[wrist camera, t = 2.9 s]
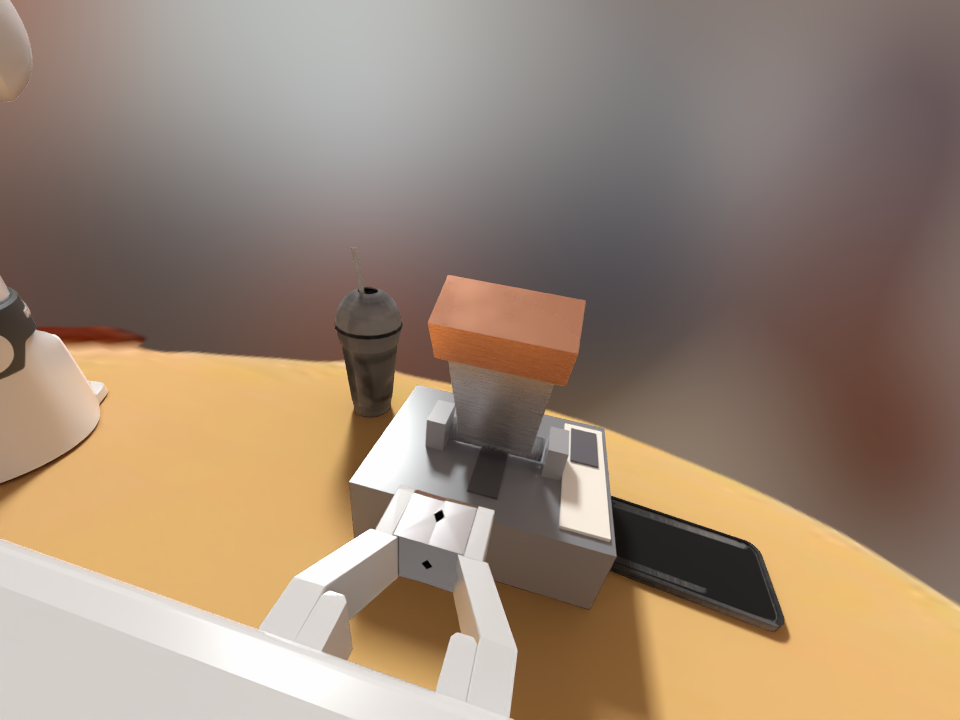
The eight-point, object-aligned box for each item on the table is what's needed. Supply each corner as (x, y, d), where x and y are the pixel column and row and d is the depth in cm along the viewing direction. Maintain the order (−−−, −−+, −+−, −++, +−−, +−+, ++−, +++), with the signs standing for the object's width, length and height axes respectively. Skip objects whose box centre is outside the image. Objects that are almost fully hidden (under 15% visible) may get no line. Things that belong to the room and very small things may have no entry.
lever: (447, 448, 33) (417, 320, 17) (458, 416, 34) (438, 273, 19) (537, 471, 31) (589, 356, 16) (543, 436, 33) (596, 302, 18)
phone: (597, 491, 38) (758, 544, 35) (594, 498, 39) (752, 551, 35) (592, 559, 32) (789, 632, 28) (588, 566, 32) (782, 640, 29)
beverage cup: (409, 415, 46) (413, 256, 36) (350, 430, 43) (336, 259, 33) (391, 384, 52) (390, 237, 42) (336, 395, 48) (320, 238, 38)
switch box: (354, 538, 32) (346, 452, 27) (415, 433, 44) (418, 361, 39) (589, 609, 29) (630, 529, 24) (586, 477, 41) (612, 404, 36)
